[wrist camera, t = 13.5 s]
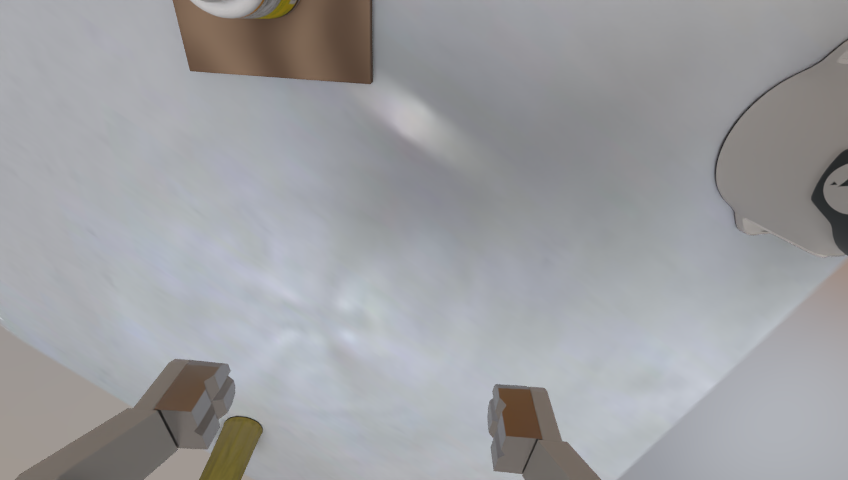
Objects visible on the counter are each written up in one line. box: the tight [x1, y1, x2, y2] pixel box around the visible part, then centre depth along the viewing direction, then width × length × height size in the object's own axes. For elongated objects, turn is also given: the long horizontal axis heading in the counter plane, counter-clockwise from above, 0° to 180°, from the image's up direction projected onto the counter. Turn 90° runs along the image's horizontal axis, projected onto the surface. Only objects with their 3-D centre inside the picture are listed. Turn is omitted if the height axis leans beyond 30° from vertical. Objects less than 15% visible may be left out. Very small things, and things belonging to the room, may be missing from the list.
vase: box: [199, 417, 262, 480], centre depth 53 cm, size 6×6×14 cm
